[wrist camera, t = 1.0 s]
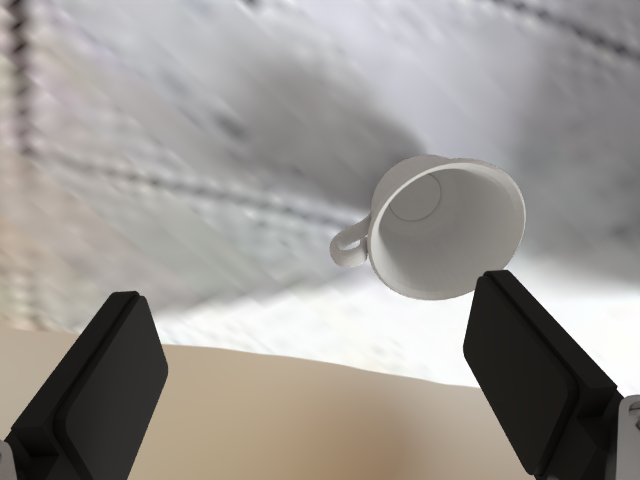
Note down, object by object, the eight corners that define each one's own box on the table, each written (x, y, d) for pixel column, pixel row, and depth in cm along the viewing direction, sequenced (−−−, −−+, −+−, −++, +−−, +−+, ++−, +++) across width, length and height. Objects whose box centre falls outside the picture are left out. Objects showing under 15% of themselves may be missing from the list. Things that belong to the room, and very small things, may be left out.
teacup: (307, 157, 34) (311, 197, 25) (466, 113, 33) (528, 138, 24) (337, 262, 39) (349, 325, 31) (473, 228, 38) (526, 282, 30)
